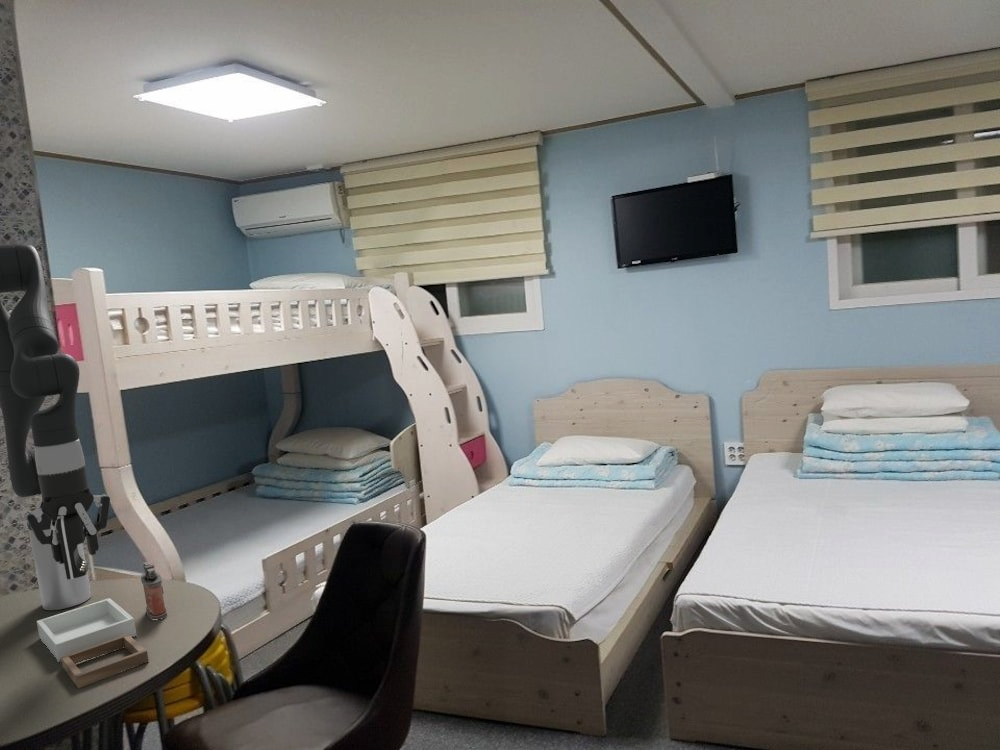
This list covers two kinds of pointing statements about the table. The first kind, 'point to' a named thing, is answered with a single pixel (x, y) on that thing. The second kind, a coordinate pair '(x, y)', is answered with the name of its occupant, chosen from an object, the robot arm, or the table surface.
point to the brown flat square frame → (107, 669)
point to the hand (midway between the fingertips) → (76, 557)
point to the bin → (85, 627)
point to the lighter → (153, 592)
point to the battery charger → (72, 544)
